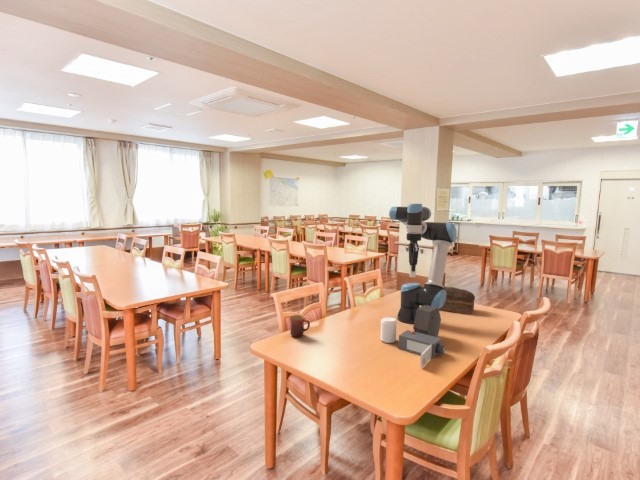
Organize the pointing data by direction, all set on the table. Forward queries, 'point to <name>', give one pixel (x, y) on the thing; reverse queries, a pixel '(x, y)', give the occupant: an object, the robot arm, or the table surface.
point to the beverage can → (388, 330)
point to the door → (426, 356)
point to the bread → (458, 300)
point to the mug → (298, 325)
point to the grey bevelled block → (427, 320)
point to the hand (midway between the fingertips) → (412, 277)
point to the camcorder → (420, 343)
